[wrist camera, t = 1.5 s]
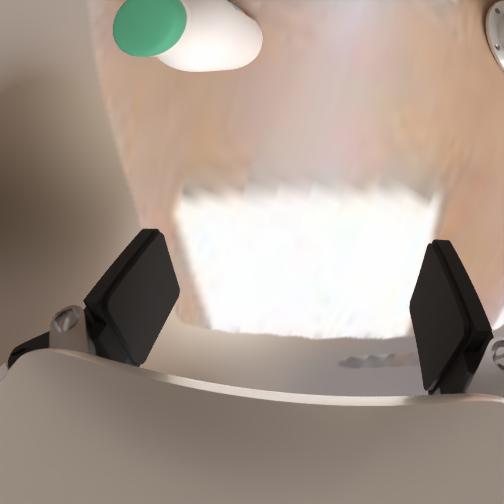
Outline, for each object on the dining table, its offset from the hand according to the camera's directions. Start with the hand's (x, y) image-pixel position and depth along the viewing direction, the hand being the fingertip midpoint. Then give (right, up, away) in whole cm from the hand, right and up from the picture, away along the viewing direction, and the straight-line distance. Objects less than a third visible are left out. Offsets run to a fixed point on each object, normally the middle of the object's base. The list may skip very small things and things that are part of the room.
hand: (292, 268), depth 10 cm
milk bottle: (-4, +25, +18) cm, 31 cm away
